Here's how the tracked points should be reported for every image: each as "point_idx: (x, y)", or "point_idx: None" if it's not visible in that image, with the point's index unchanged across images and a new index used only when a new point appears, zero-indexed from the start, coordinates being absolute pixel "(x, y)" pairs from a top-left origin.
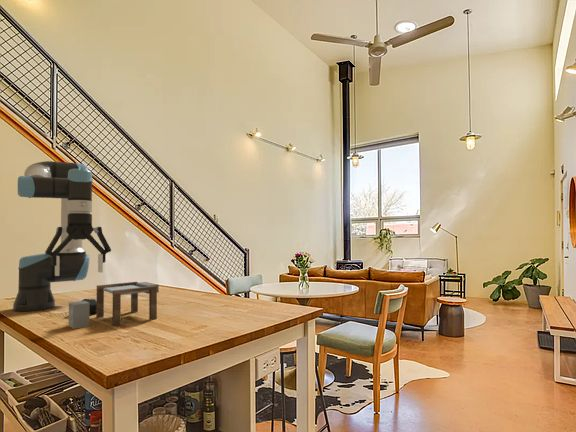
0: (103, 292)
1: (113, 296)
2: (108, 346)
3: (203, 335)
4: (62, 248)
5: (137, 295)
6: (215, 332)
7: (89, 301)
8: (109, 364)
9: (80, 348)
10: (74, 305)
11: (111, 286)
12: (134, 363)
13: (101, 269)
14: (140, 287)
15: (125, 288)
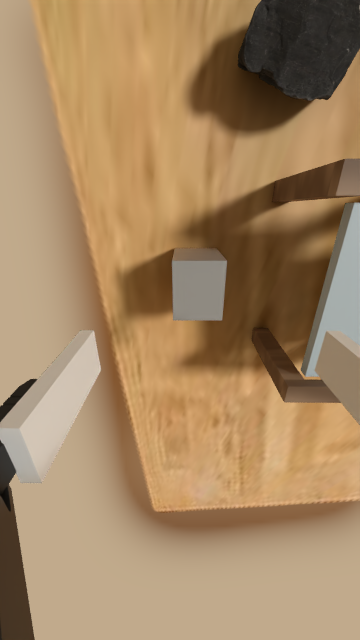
0: (340, 197)
1: (278, 379)
2: (187, 445)
3: (307, 478)
4: (19, 587)
5: None
6: (330, 477)
7: (319, 32)
8: (164, 493)
9: (153, 431)
10: (176, 318)
11: None
12: (185, 503)
13: (330, 382)
14: None
15: None
